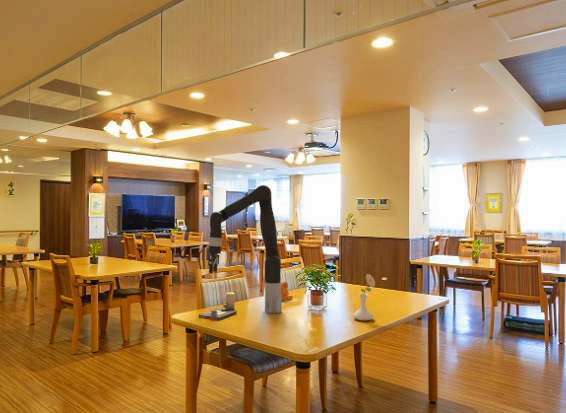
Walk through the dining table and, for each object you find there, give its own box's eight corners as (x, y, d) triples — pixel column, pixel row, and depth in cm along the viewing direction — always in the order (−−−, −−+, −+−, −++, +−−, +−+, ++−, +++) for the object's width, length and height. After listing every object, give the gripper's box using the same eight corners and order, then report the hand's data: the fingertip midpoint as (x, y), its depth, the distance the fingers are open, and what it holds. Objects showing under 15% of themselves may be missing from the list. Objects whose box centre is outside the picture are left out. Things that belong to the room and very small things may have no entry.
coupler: (234, 309, 253) (234, 292, 253) (234, 311, 248) (234, 294, 248) (225, 309, 252) (225, 292, 252) (225, 311, 247) (225, 294, 247)
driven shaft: (218, 314, 232) (218, 309, 232) (216, 316, 228) (216, 311, 228) (213, 314, 232) (213, 309, 232) (211, 316, 228) (211, 310, 228)
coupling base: (236, 313, 241) (236, 310, 241) (219, 320, 226) (219, 317, 226) (216, 311, 247) (216, 308, 247) (198, 317, 232) (198, 314, 232)
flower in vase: (361, 323, 223) (361, 276, 224) (348, 318, 234) (349, 273, 234) (380, 320, 230) (380, 274, 230) (367, 315, 240) (367, 272, 240)
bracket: (280, 301, 277) (280, 283, 277) (274, 299, 283) (274, 281, 283) (293, 299, 283) (293, 281, 283) (287, 297, 289) (287, 280, 289)
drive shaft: (228, 310, 243) (228, 304, 243) (224, 311, 240) (224, 306, 240) (224, 309, 245) (224, 304, 245) (220, 310, 241) (220, 305, 241)
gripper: (217, 246, 242) (215, 274, 241) (224, 245, 256) (222, 271, 255) (205, 245, 243) (203, 273, 242) (212, 244, 257) (210, 270, 256)
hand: (212, 272), depth 248 cm, fingers open, 8 cm apart
